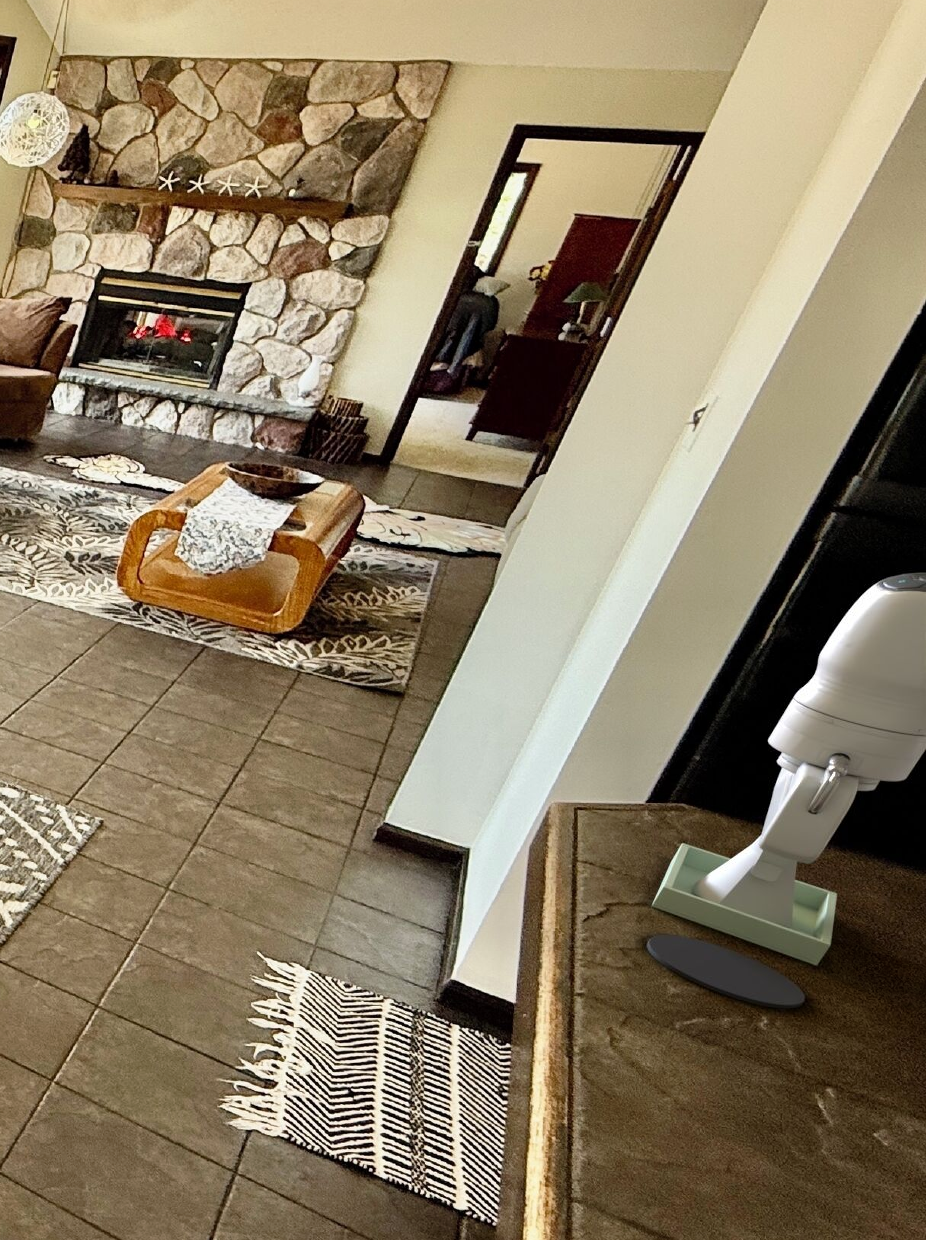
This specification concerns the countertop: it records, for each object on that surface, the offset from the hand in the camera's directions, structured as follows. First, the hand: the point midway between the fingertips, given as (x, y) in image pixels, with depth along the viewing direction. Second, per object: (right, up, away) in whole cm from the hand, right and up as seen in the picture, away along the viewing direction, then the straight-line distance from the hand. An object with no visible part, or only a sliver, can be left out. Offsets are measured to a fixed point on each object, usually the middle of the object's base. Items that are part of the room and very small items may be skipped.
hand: (764, 870), depth 110 cm
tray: (0, -4, +2) cm, 5 cm away
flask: (0, -4, +2) cm, 4 cm away
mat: (-14, -8, -9) cm, 18 cm away
